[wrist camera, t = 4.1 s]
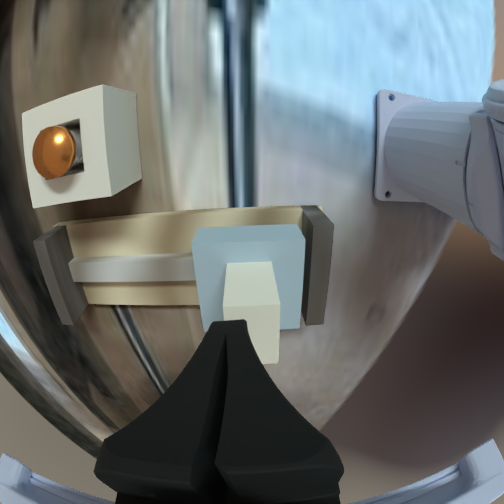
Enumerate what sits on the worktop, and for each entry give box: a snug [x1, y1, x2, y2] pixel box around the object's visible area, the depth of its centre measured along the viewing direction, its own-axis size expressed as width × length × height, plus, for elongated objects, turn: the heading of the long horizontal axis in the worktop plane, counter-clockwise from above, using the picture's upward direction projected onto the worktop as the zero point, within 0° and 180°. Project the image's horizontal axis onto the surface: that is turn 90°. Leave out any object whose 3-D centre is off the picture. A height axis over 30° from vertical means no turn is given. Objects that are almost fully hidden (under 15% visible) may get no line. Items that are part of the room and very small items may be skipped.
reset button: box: [32, 126, 83, 179], centre depth 14 cm, size 3×3×6 cm
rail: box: [33, 206, 334, 326], centre depth 19 cm, size 20×7×4 cm, turn 92°
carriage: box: [191, 224, 305, 364], centre depth 15 cm, size 6×6×6 cm
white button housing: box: [22, 85, 142, 208], centre depth 14 cm, size 6×6×5 cm
